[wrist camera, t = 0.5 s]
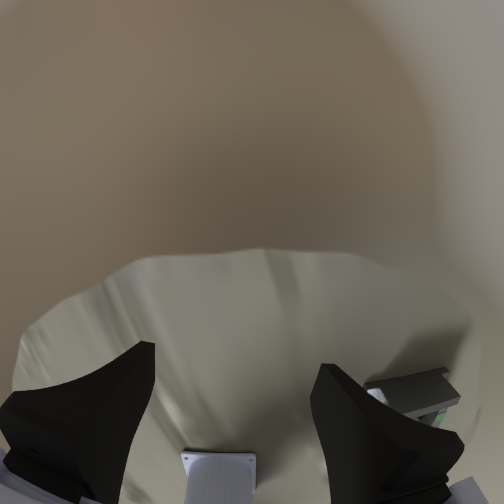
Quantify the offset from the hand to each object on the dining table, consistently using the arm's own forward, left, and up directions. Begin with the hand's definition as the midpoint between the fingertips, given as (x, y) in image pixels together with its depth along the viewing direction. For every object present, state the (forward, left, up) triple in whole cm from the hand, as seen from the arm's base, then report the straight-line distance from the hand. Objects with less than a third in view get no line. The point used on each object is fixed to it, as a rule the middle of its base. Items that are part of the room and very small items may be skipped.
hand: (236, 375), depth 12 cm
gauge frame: (-16, -17, -10) cm, 25 cm away
